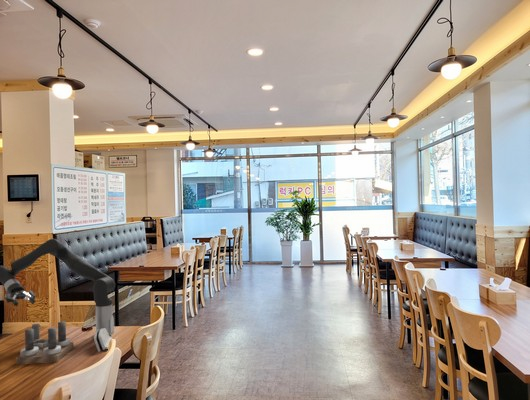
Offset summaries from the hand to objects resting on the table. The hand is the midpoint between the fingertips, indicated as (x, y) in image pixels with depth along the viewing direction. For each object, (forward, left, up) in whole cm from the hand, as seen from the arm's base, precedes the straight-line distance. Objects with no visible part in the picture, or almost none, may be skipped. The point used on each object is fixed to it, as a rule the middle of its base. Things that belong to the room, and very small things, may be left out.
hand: (25, 303), depth 211 cm
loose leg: (-8, +5, -22) cm, 24 cm away
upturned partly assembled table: (-20, +19, -22) cm, 35 cm away
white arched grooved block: (-45, +9, -23) cm, 51 cm away
